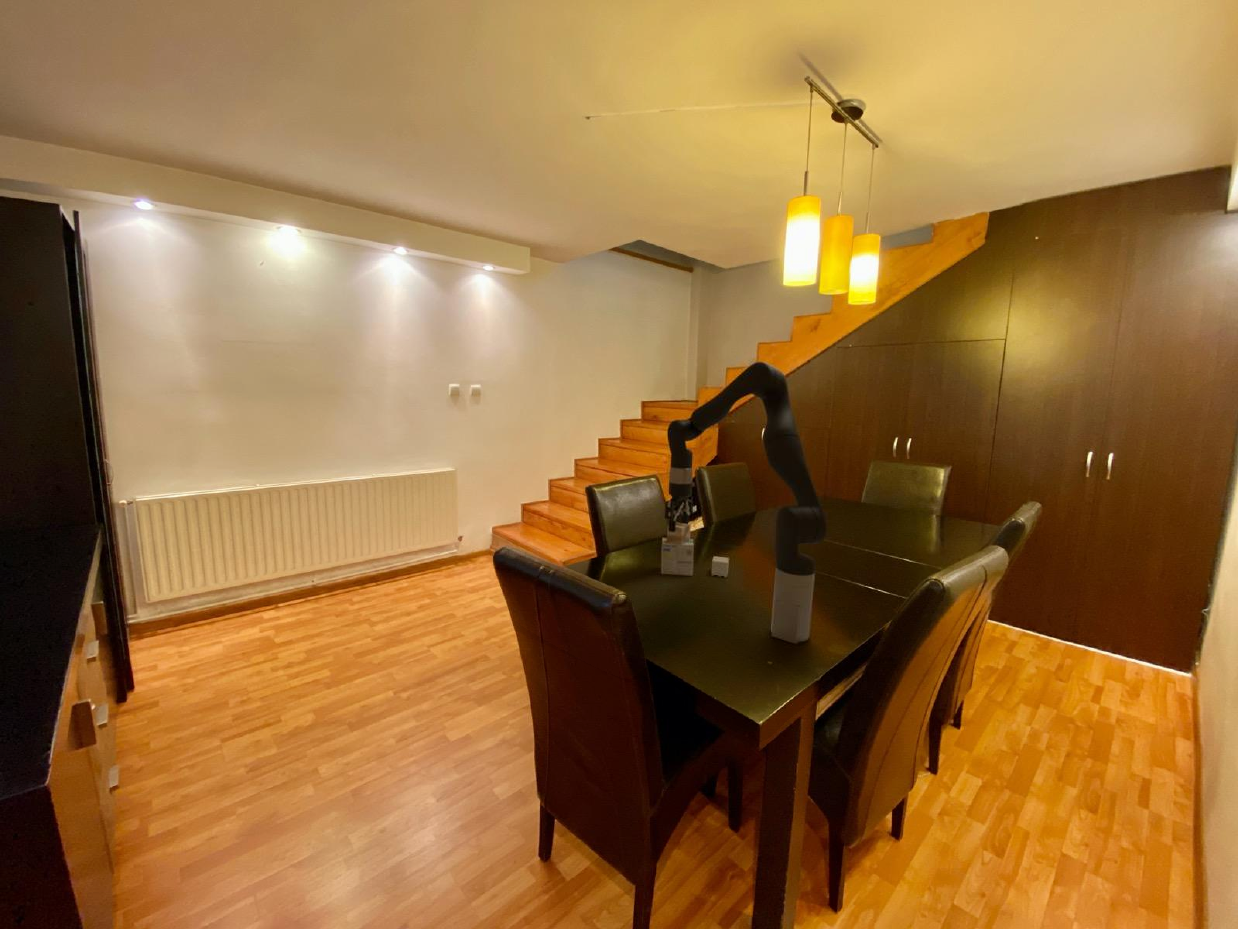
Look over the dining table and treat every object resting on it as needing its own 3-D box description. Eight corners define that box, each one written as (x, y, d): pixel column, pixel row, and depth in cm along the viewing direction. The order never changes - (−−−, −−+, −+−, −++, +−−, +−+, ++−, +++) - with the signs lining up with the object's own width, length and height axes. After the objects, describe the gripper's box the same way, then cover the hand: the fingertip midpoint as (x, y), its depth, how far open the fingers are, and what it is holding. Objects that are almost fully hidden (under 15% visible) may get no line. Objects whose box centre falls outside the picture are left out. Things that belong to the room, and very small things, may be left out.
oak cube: (681, 544, 162) (682, 528, 161) (666, 541, 165) (667, 525, 164) (689, 540, 166) (690, 524, 165) (675, 537, 169) (676, 521, 168)
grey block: (726, 577, 163) (727, 562, 163) (711, 575, 165) (712, 561, 164) (728, 572, 168) (728, 558, 167) (713, 570, 170) (713, 556, 169)
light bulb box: (692, 569, 170) (693, 538, 168) (693, 576, 163) (694, 544, 162) (660, 567, 171) (662, 537, 169) (660, 574, 164) (661, 543, 163)
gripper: (679, 485, 155) (677, 535, 157) (701, 479, 166) (698, 526, 168) (659, 482, 159) (657, 531, 161) (681, 476, 170) (679, 522, 173)
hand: (678, 528), depth 165 cm, fingers open, 8 cm apart
